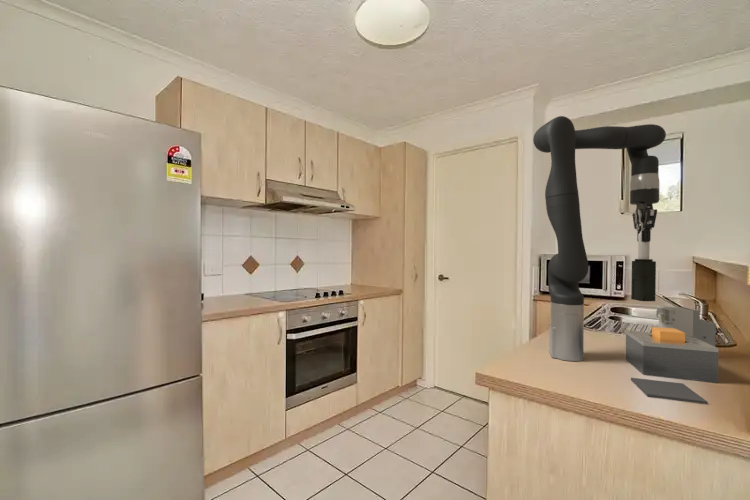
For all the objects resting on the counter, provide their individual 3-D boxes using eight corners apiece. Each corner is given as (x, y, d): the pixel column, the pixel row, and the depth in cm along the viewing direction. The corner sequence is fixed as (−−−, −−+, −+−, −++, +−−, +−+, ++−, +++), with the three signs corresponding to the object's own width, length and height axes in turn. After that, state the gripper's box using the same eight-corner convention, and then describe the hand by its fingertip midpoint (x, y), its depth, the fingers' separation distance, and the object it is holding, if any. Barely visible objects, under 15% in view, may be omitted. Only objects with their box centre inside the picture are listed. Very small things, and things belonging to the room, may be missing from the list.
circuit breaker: (721, 359, 108) (722, 311, 108) (669, 356, 111) (669, 309, 110) (703, 352, 115) (704, 307, 115) (655, 349, 118) (655, 306, 118)
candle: (629, 299, 114) (630, 224, 114) (643, 298, 115) (644, 224, 115) (642, 301, 109) (643, 223, 109) (657, 301, 110) (658, 223, 109)
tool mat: (647, 396, 80) (647, 394, 80) (630, 379, 90) (630, 377, 90) (707, 404, 76) (707, 401, 76) (682, 385, 86) (682, 383, 86)
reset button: (659, 356, 96) (660, 331, 96) (651, 350, 101) (651, 326, 101) (684, 358, 94) (685, 333, 94) (675, 352, 99) (675, 328, 99)
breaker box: (643, 374, 94) (643, 342, 94) (625, 359, 107) (625, 330, 107) (718, 383, 88) (718, 348, 88) (690, 365, 101) (690, 335, 101)
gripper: (623, 193, 120) (622, 242, 120) (638, 186, 106) (638, 241, 107) (649, 192, 117) (648, 242, 117) (668, 184, 104) (667, 241, 104)
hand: (643, 241), depth 112 cm, fingers closed on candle, 3 cm apart
